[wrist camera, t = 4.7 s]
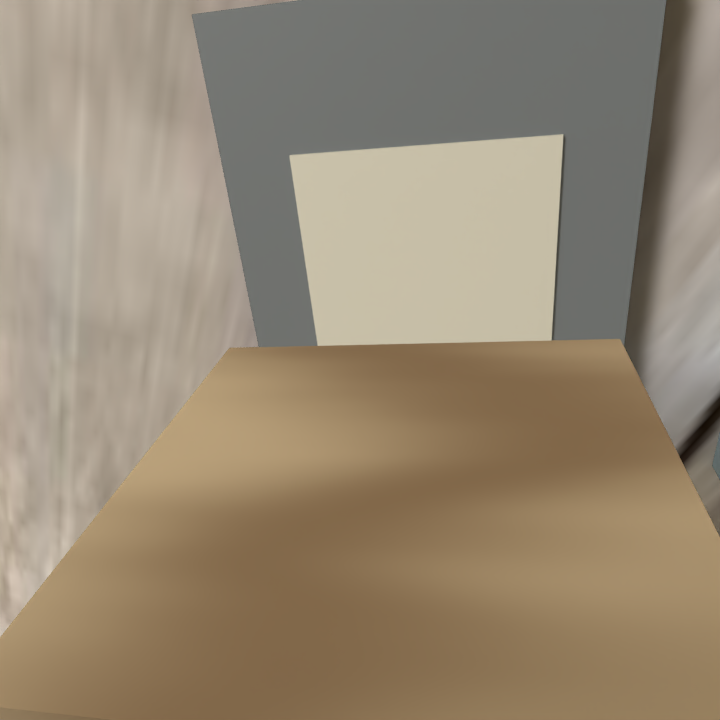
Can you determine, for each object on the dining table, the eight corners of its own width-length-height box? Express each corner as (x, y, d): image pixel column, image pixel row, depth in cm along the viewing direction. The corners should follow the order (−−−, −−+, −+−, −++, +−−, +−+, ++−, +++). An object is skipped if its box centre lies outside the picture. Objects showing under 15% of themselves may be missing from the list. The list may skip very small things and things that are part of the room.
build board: (658, -43, 14) (673, -49, 12) (602, 451, 20) (608, 476, 19) (210, 15, 16) (189, 14, 15) (291, 443, 22) (281, 465, 21)
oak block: (619, 339, 7) (851, 800, 3) (590, 623, 9) (693, 1123, 5) (229, 347, 8) (-51, 700, 4) (287, 604, 10) (155, 1010, 6)
